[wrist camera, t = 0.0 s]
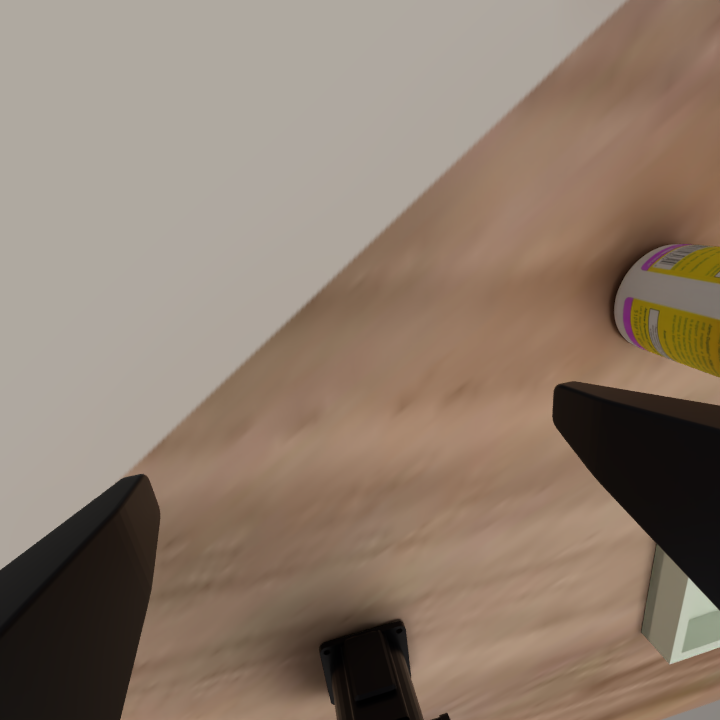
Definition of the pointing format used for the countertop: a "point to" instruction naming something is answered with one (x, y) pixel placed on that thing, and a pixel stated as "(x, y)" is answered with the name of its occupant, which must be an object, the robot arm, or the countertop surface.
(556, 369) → the countertop surface
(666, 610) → the tray
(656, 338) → the supplement bottle
